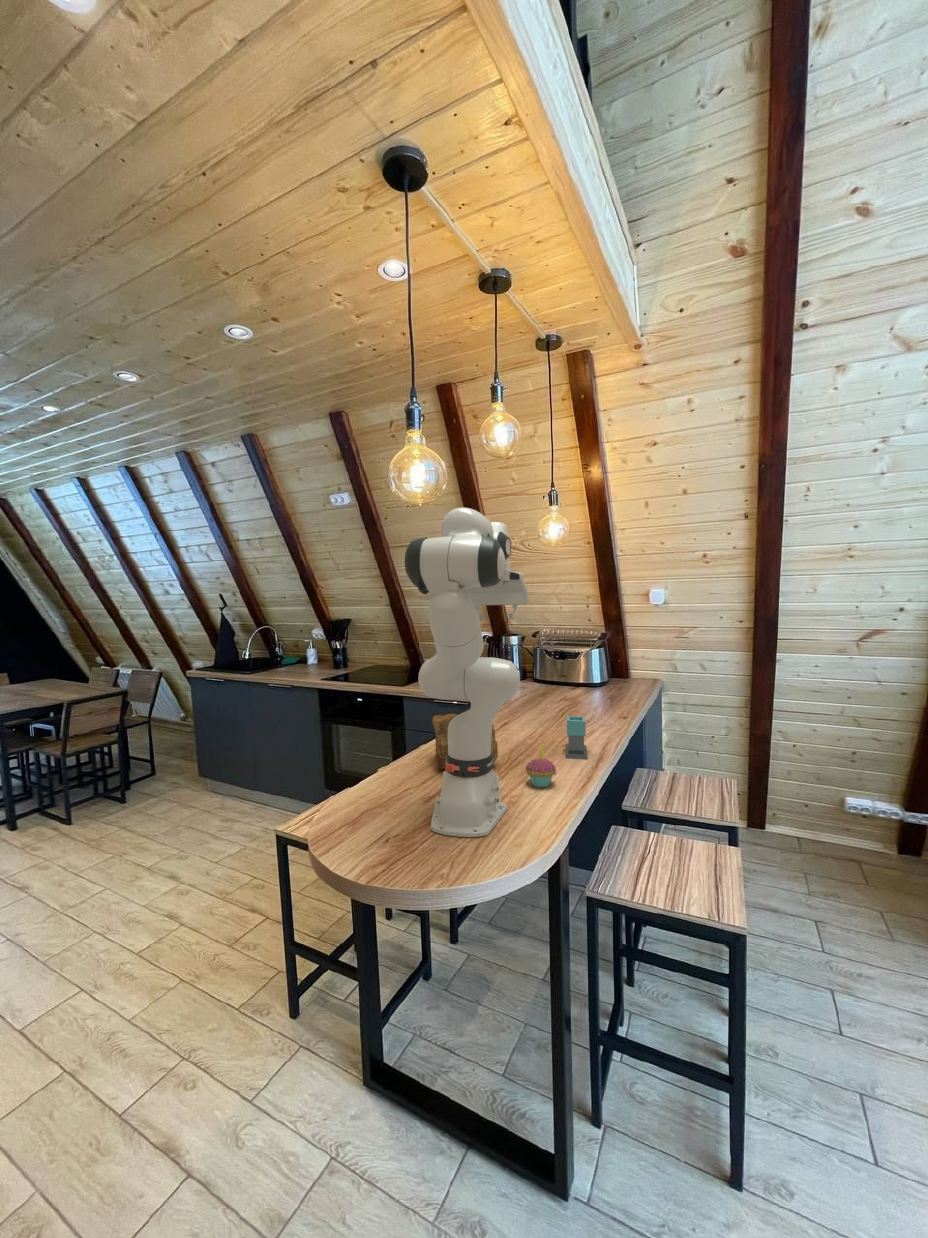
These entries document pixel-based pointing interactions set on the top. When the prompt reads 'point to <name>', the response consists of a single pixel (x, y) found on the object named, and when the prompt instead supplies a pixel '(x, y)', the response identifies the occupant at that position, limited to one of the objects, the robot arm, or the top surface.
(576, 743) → the grey pedestal stand
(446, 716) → the rough brown rock
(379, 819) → the top surface
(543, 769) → the cupcake
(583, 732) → the teal hollow box
